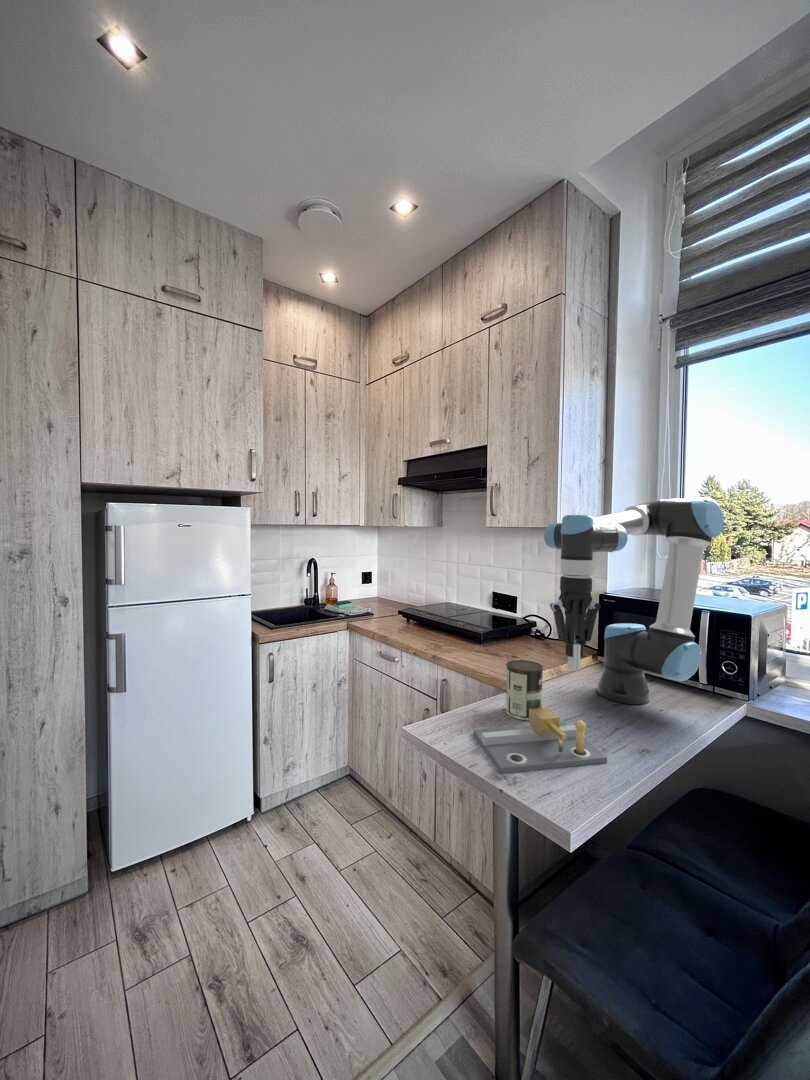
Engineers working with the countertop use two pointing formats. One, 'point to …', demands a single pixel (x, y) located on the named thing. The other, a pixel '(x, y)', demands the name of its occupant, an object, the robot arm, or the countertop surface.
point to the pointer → (546, 724)
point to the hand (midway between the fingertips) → (573, 668)
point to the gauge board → (537, 748)
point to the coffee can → (523, 688)
